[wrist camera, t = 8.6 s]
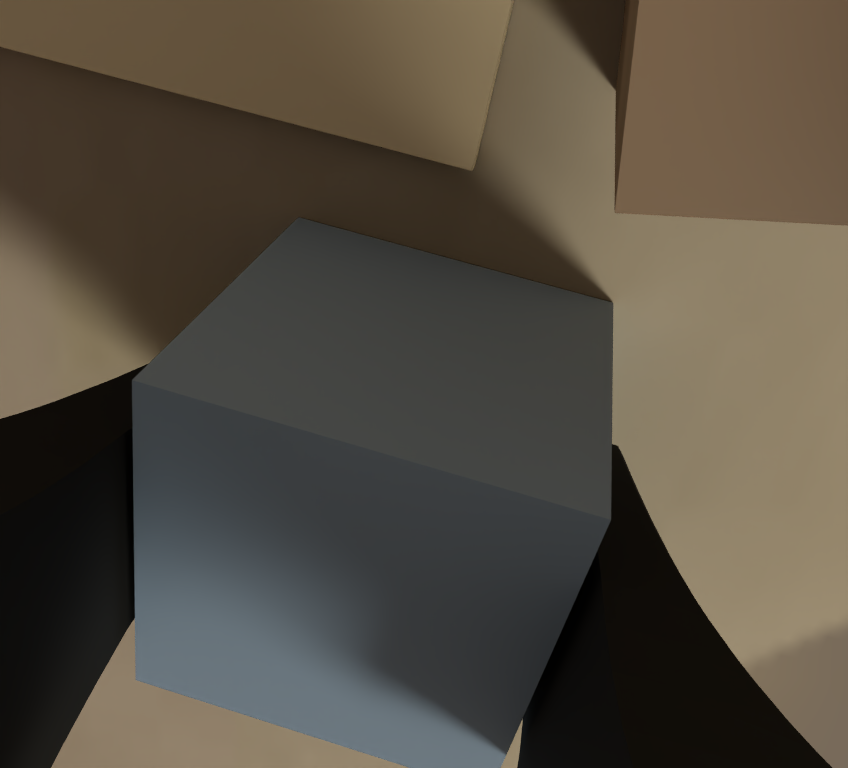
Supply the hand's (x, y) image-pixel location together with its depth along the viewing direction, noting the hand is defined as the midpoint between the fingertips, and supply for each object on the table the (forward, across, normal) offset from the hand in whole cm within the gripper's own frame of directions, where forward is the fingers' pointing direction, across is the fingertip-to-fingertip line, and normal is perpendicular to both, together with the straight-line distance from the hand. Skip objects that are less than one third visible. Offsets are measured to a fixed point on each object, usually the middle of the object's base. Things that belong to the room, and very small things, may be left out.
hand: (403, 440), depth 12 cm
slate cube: (+1, 0, 0) cm, 1 cm away
